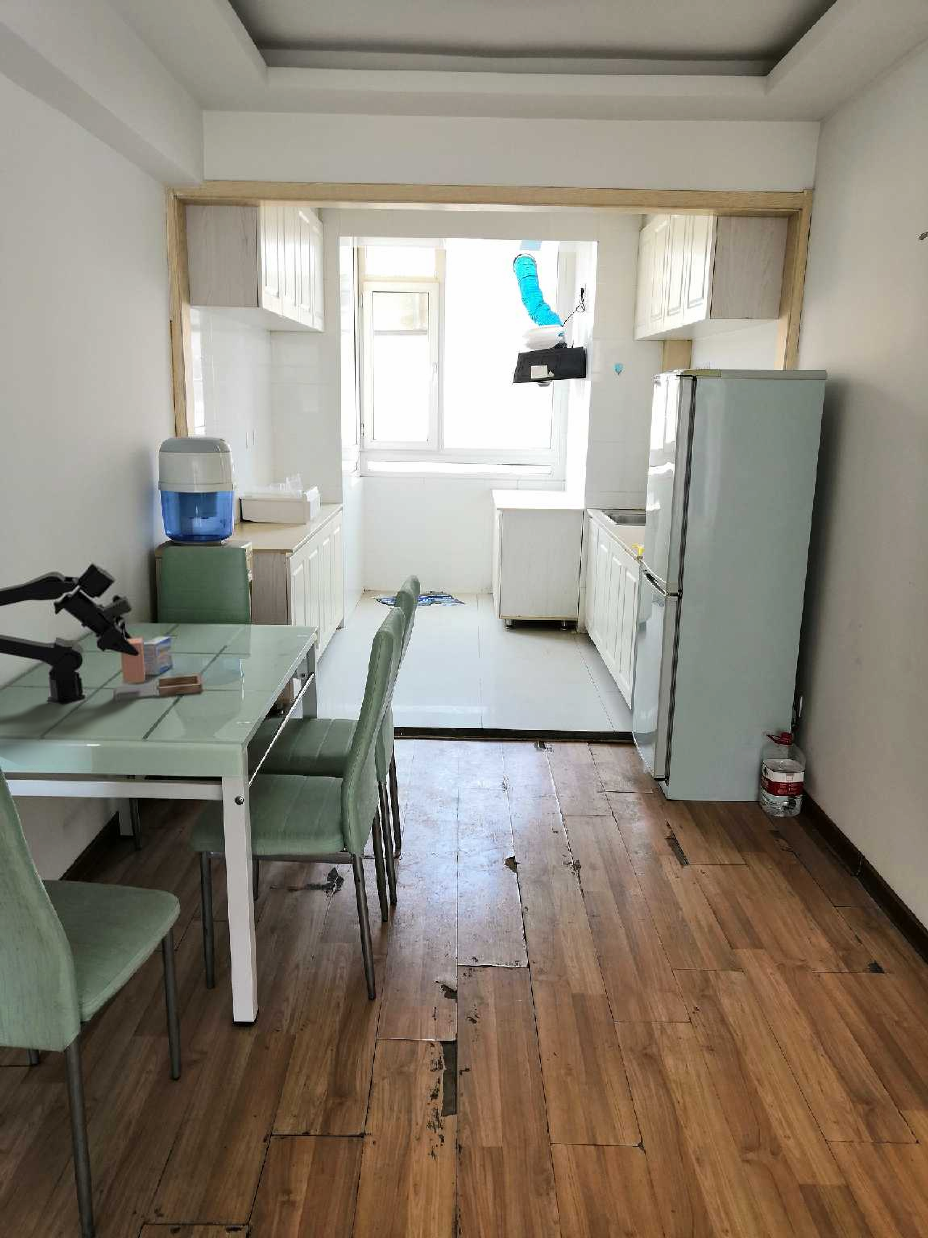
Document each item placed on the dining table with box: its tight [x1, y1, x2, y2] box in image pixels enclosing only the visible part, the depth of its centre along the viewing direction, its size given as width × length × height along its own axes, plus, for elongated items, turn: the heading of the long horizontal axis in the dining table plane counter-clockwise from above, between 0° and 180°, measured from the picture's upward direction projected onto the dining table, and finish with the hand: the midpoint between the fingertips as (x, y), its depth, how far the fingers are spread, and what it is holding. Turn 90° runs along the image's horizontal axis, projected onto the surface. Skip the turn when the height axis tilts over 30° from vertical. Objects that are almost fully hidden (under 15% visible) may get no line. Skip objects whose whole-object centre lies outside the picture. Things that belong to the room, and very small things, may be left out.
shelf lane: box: [157, 673, 204, 697], centre depth 237 cm, size 10×9×2 cm
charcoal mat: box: [113, 682, 158, 702], centre depth 234 cm, size 10×10×1 cm
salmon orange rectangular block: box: [120, 637, 146, 684], centre depth 232 cm, size 5×5×10 cm
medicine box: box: [142, 636, 174, 676], centre depth 252 cm, size 8×4×9 cm, turn 168°
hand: (138, 651), depth 232 cm, fingers closed on salmon orange rectangular block, 5 cm apart
